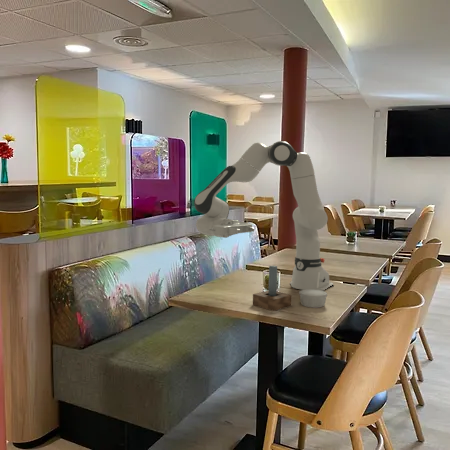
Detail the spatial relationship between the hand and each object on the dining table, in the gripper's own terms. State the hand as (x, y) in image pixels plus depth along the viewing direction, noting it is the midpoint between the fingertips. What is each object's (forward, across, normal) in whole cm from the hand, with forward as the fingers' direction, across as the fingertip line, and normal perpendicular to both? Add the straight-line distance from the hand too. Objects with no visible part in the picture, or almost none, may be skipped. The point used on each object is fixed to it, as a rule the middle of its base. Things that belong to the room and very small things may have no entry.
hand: (246, 230), depth 202 cm
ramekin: (+30, +8, +29) cm, 42 cm away
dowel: (+20, -6, +28) cm, 35 cm away
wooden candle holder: (+20, -6, +28) cm, 35 cm away
